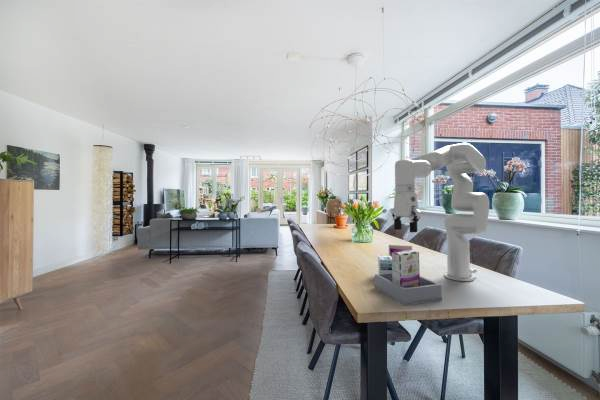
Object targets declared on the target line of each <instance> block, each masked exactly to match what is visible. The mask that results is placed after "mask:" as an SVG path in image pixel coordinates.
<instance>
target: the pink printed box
mask: <svg viewBox="0 0 600 400" xmlns="http://www.w3.org/2000/svg"><path fill="white" fill-rule="evenodd" d="M406 250H413V246H412V245H398V244H396V245H395V244H388V256H392V253H393V252H399V251H406Z"/></svg>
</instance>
